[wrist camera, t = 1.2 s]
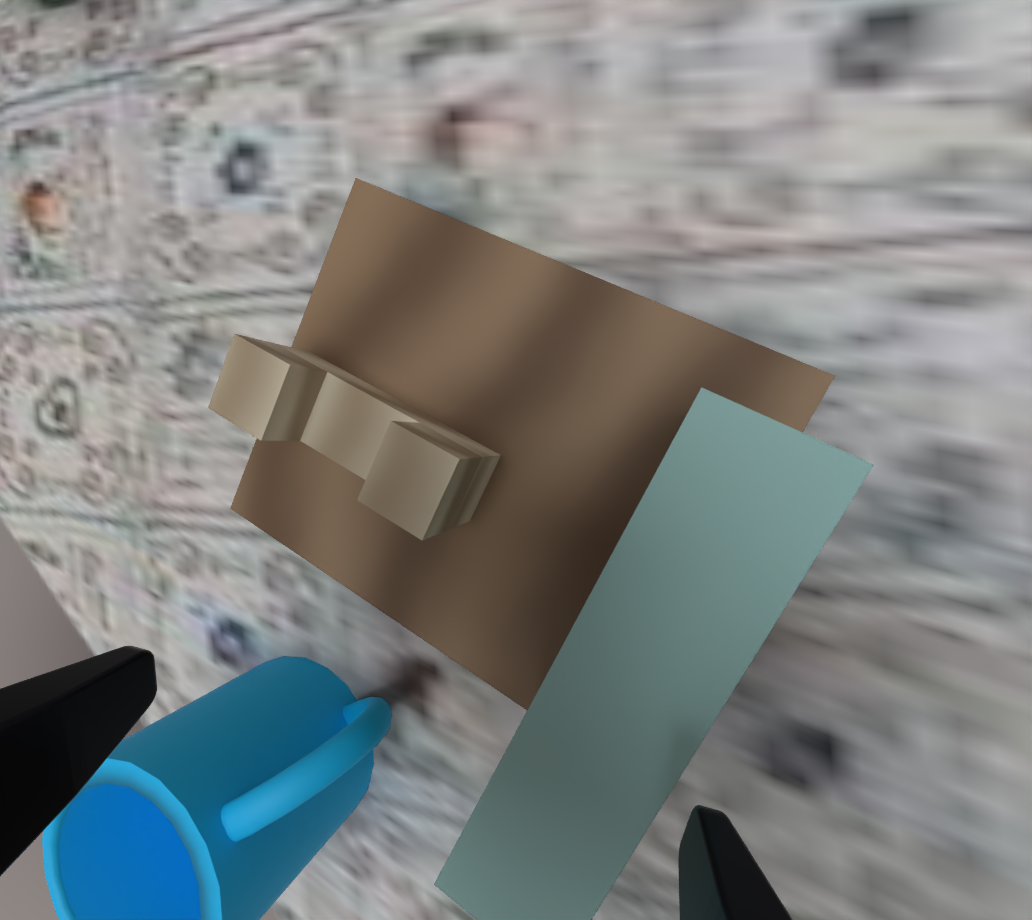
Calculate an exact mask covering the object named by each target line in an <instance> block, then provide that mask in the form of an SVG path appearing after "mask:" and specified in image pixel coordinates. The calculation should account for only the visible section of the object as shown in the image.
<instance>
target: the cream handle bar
mask: <svg viewBox="0 0 1032 920" xmlns="http://www.w3.org/2000/svg"><path fill="white" fill-rule="evenodd" d="M208 408H209V409H211V410H212V411H214V412H215V413H217V414H219V415H220V416H222V417H223V418H225V419H227V420H228V421H230V422H232V423H233V424H235V425H236V426H238V427H240V428H241V429H243V430H244V431H246V432H248V433H249V434H251V435H253V436H254V437H256V438H257V439H259V440H261V441H302V442H303V443H305V444H307V445H308V446H310V447H311V448H313V449H315V450H316V451H318V452H320V453H321V454H323V455H325V456H326V457H328V458H330V459H331V460H333V461H335V462H336V463H338V464H340V465H341V466H343V467H345V468H346V469H348V470H350V471H351V472H353V473H355V474H356V475H358V476H360V477H361V478H363V479H365V483H364V485H363V487H362V490H361V492H360V494H359V497H358V499H357V500H358V501H359V502H361V503H362V504H364V505H366V506H367V507H369V508H370V509H372V510H374V511H375V512H377V513H378V514H380V515H382V516H383V517H385V518H387V519H388V520H390V521H391V522H393V523H395V524H396V525H398V526H399V527H401V528H403V529H404V530H406V531H408V532H409V533H411V534H412V535H414V536H416V537H417V538H419V539H420V540H425V539H427V538H429V537H432V536H434V535H437V534H439V533H442V532H444V531H447V530H449V529H452V528H454V527H457V526H459V525H462V524H464V523H467V522H469V521H470V519H471V517H472V515H473V513H474V511H475V509H476V507H477V505H478V503H479V500H480V498H481V496H482V494H483V492H484V490H485V488H486V486H487V484H488V482H489V479H490V477H491V475H492V473H493V471H494V469H495V467H496V465H497V463H498V460H499V458H500V456H501V455H500V454H498V453H496V452H494V451H492V450H490V449H489V448H487V447H485V446H483V445H481V444H479V443H477V442H476V441H474V440H472V439H470V438H468V437H466V436H464V435H463V434H461V433H459V432H457V431H455V430H453V429H452V428H450V427H448V426H446V425H444V424H442V423H440V422H439V421H437V420H435V419H433V418H431V417H429V416H427V415H426V414H424V413H422V412H420V411H418V410H416V409H415V408H413V407H411V406H409V405H407V404H405V403H403V402H402V401H400V400H398V399H396V398H394V397H392V396H390V395H389V394H387V393H385V392H383V391H381V390H379V389H378V388H376V387H374V386H372V385H370V384H368V383H366V382H365V381H363V380H361V379H359V378H357V377H355V376H353V375H352V374H350V373H348V372H346V371H344V370H342V369H340V368H339V367H337V366H335V365H333V364H331V363H329V362H328V361H326V360H324V359H322V358H320V357H318V356H316V355H315V354H313V353H311V352H308V351H304V350H300V349H295V348H291V347H287V346H283V345H279V344H275V343H270V342H266V341H262V340H258V339H254V338H250V337H245V336H241V335H237V334H234V337H233V340H232V342H231V345H230V348H229V351H228V354H227V356H226V359H225V362H224V365H223V368H222V370H221V373H220V376H219V379H218V382H217V384H216V387H215V390H214V393H213V396H212V398H211V401H210V404H209V407H208Z"/></svg>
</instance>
